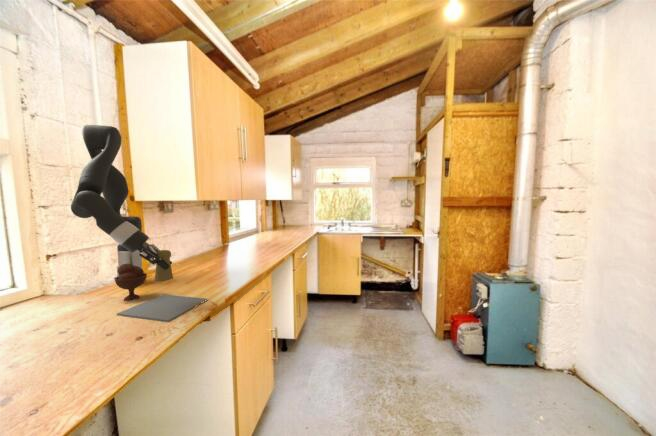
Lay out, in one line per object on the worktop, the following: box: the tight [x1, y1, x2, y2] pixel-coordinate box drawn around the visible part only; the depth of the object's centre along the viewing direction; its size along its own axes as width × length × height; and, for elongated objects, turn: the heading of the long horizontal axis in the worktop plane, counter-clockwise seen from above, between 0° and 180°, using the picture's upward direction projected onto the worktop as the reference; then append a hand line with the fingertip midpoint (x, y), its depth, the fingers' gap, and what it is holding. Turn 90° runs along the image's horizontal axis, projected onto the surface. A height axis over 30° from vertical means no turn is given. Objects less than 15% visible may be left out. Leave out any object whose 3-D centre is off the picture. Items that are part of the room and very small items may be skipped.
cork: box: [154, 249, 174, 282], centre depth 100 cm, size 6×6×11 cm
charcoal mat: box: [116, 293, 208, 323], centre depth 101 cm, size 22×20×1 cm
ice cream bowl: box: [113, 263, 148, 302], centre depth 109 cm, size 11×11×15 cm
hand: (169, 266), depth 100 cm, fingers closed on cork, 4 cm apart
